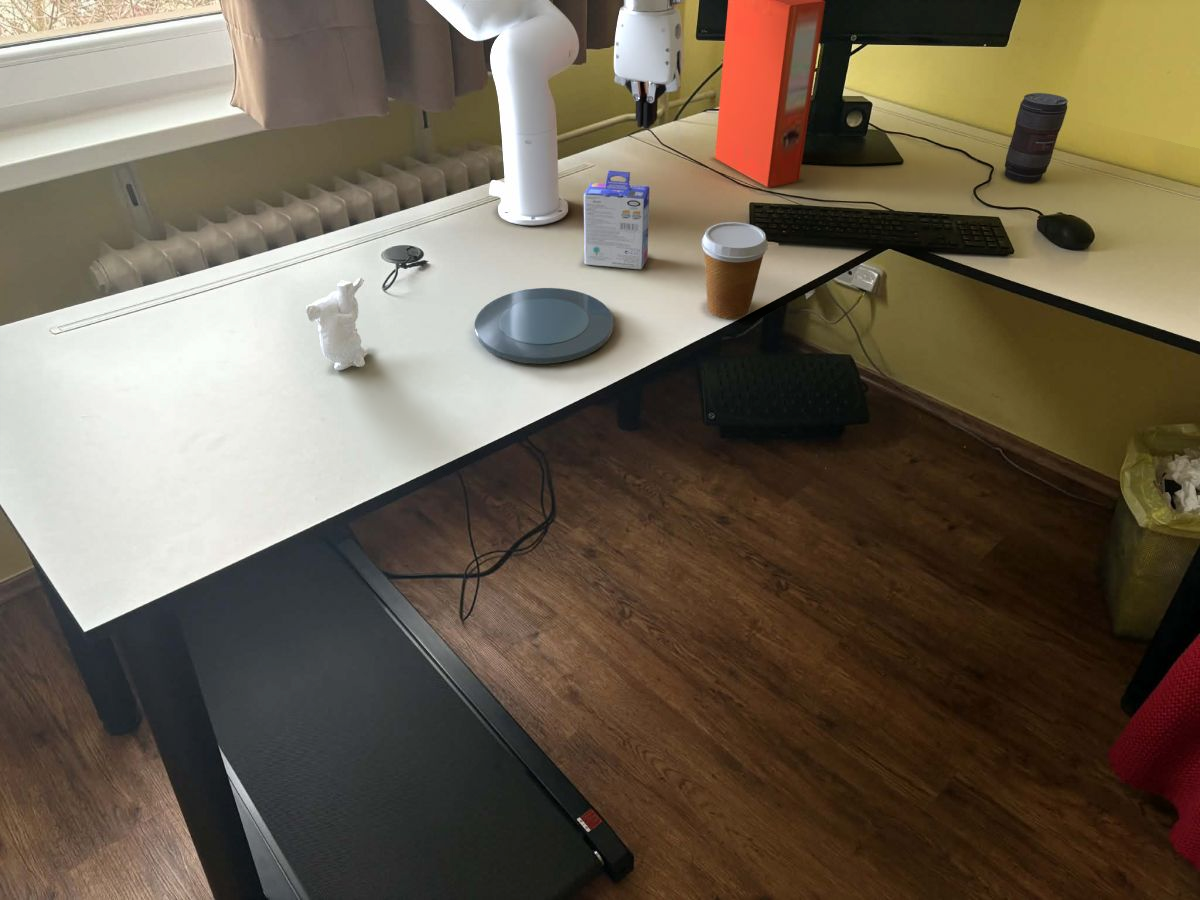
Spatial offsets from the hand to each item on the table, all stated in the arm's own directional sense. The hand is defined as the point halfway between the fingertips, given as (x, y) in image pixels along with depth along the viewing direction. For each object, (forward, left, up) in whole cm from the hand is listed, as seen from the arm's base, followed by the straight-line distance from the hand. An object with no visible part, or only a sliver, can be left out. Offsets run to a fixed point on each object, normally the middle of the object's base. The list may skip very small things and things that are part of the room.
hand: (646, 124), depth 144 cm
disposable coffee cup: (+22, -17, -19) cm, 34 cm away
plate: (0, -35, -19) cm, 40 cm away
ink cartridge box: (0, -10, -19) cm, 22 cm away
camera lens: (+56, +57, -19) cm, 82 cm away
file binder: (+8, +38, -19) cm, 43 cm away
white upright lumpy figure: (-20, -54, -19) cm, 61 cm away
